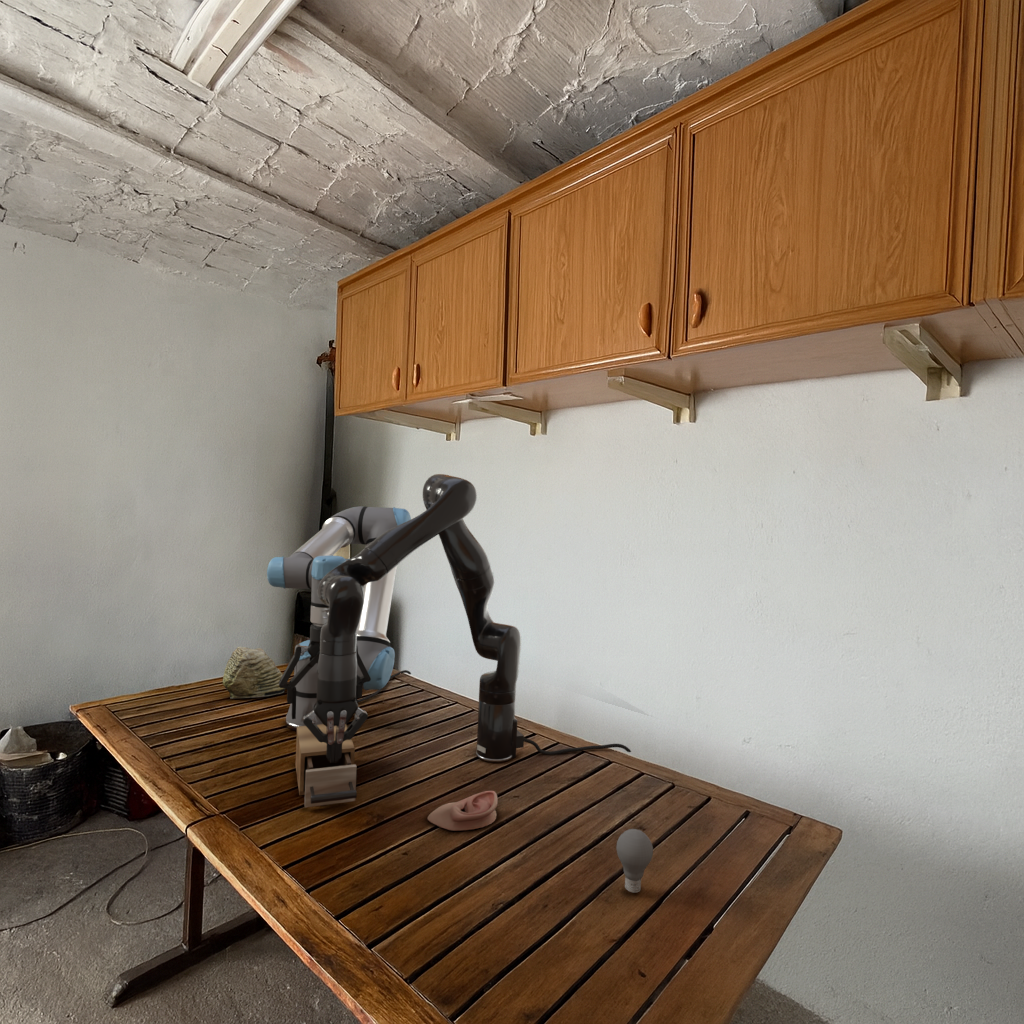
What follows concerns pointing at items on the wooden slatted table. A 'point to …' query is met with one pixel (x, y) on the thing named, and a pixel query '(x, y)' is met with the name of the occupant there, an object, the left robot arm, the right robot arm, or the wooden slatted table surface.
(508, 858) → the wooden slatted table surface
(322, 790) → the drawer
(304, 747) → the cabinet
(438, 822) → the anatomical model
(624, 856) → the light bulb
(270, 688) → the fossil
